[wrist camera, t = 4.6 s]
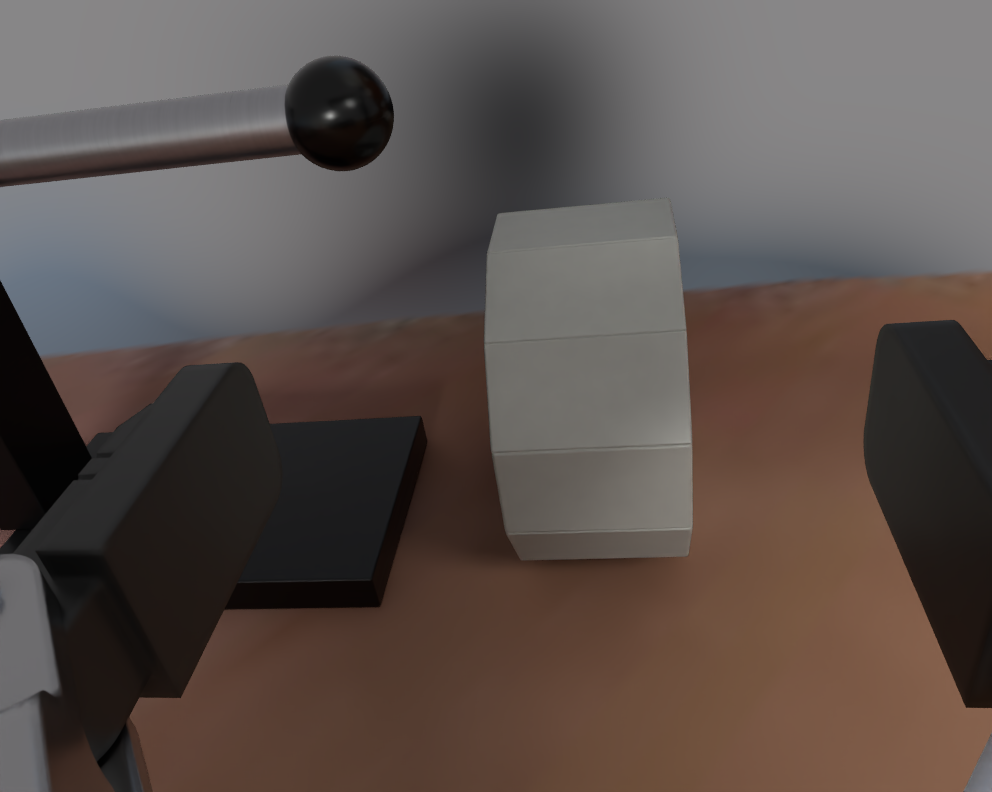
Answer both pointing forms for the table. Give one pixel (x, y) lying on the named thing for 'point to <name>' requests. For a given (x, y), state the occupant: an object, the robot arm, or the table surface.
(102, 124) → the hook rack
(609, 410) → the tape roll
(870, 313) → the table surface
